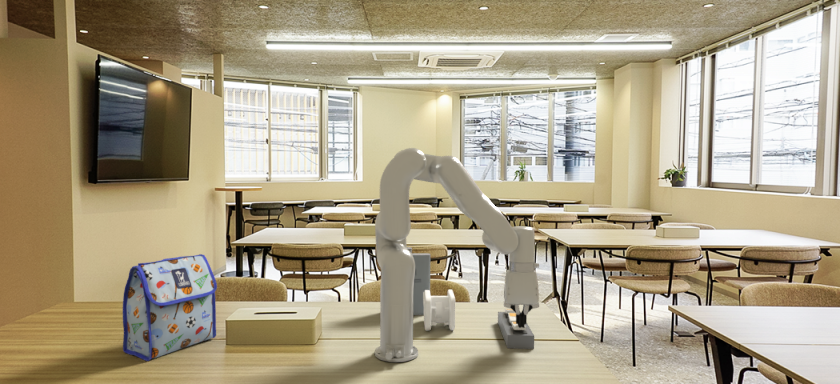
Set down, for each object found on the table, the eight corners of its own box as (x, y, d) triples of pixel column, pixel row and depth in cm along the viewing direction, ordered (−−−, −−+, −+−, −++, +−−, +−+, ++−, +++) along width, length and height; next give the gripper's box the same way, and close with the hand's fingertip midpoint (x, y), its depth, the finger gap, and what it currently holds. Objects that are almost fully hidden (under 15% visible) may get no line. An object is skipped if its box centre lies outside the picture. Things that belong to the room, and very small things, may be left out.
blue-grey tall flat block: (383, 314, 181) (383, 248, 180) (384, 311, 185) (384, 246, 184) (429, 315, 180) (430, 248, 179) (429, 311, 185) (430, 246, 184)
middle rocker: (521, 323, 157) (521, 320, 156) (510, 323, 157) (510, 320, 156) (519, 316, 161) (519, 313, 161) (508, 315, 162) (508, 312, 161)
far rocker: (517, 313, 164) (517, 310, 165) (506, 313, 165) (506, 310, 165) (515, 312, 169) (515, 309, 169) (505, 312, 169) (505, 309, 170)
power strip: (534, 348, 147) (534, 333, 146) (507, 348, 147) (507, 333, 147) (516, 315, 181) (516, 303, 180) (494, 315, 181) (495, 303, 181)
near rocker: (525, 330, 148) (525, 326, 148) (513, 329, 149) (514, 326, 149) (523, 325, 153) (523, 321, 153) (511, 324, 154) (511, 321, 154)
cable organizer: (455, 333, 160) (456, 298, 159) (423, 333, 160) (423, 298, 159) (452, 320, 175) (452, 288, 174) (422, 320, 175) (422, 288, 174)
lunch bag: (151, 365, 132) (150, 267, 131) (117, 353, 140) (116, 261, 139) (222, 340, 152) (222, 255, 151) (189, 331, 160) (188, 250, 159)
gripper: (544, 264, 151) (543, 323, 152) (495, 264, 152) (495, 322, 153) (549, 269, 144) (548, 330, 145) (498, 269, 145) (497, 329, 145)
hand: (521, 326), depth 149 cm, fingers closed
